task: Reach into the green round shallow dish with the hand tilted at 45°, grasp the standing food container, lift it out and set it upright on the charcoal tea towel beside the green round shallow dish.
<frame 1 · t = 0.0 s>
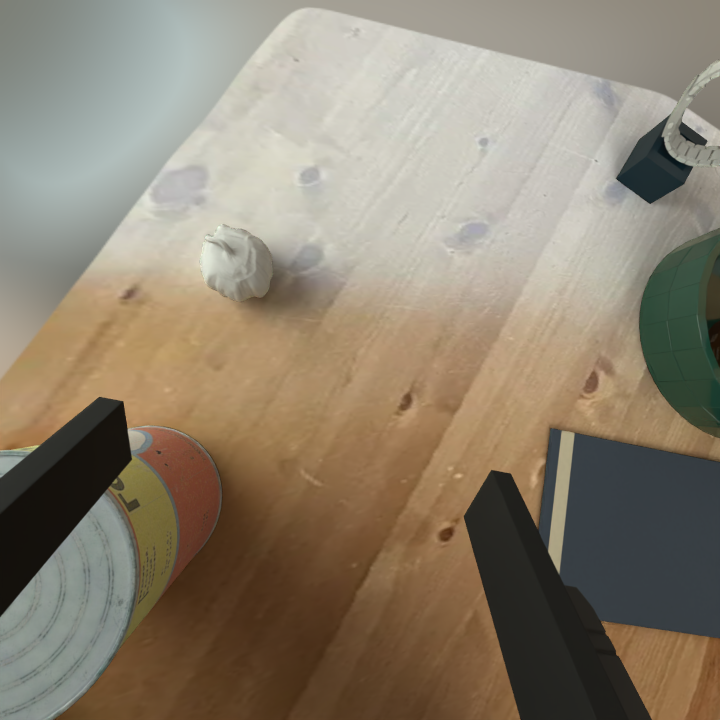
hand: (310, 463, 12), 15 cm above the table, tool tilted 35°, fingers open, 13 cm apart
canned food: (146, 499, 25), on the table
garlic: (244, 276, 28), on the table
towel: (644, 533, 29), on the table
watch: (643, 172, 34), on the table
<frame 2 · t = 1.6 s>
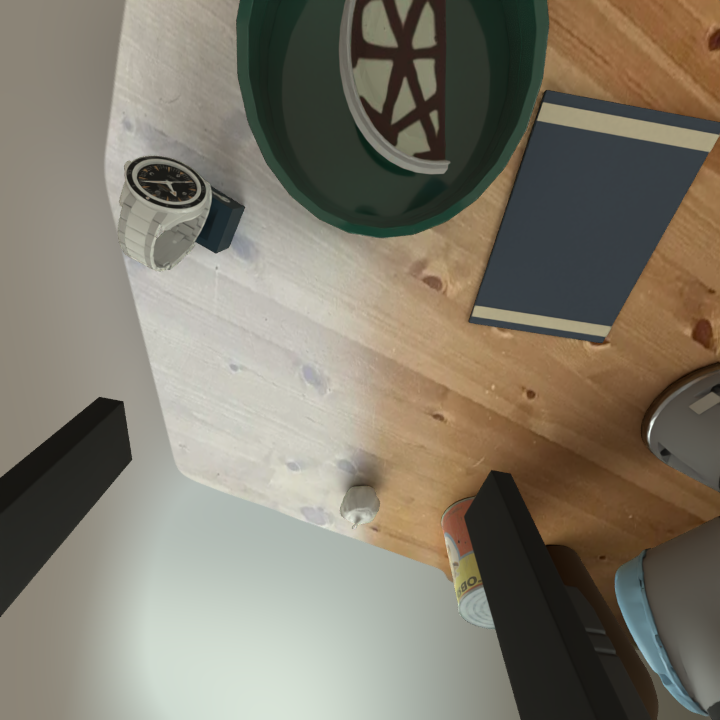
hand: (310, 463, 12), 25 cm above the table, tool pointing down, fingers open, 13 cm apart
canned food: (477, 519, 52), on the table
garlic: (360, 491, 50), on the table
towel: (576, 236, 31), on the table
green round shallow dish: (386, 94, 27), on the table
watch: (210, 210, 32), on the table
food container: (386, 93, 27), resting on green round shallow dish
olive oil: (547, 559, 56), on the table
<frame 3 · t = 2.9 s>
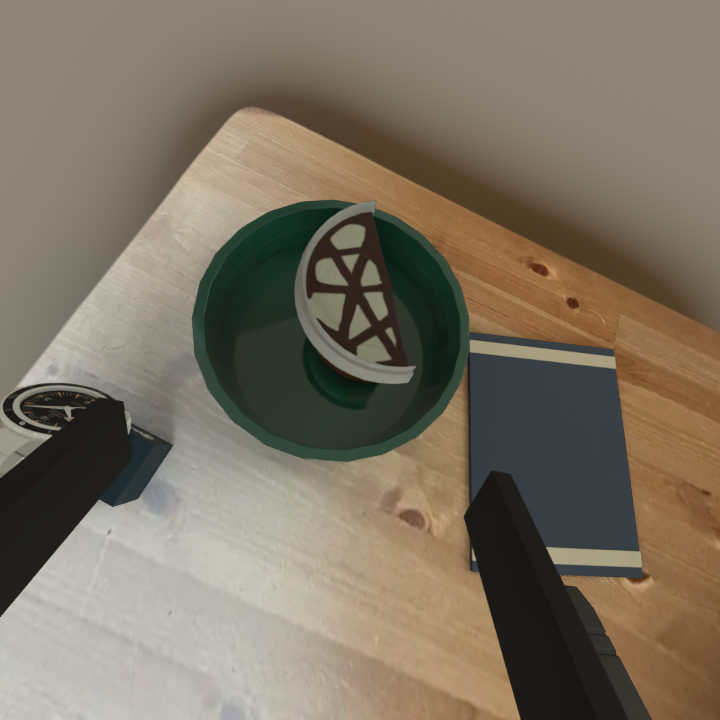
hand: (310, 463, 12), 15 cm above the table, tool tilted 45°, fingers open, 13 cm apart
towel: (548, 447, 30), on the table
green round shallow dish: (334, 338, 29), on the table
watch: (125, 452, 25), on the table
food container: (334, 337, 29), resting on green round shallow dish
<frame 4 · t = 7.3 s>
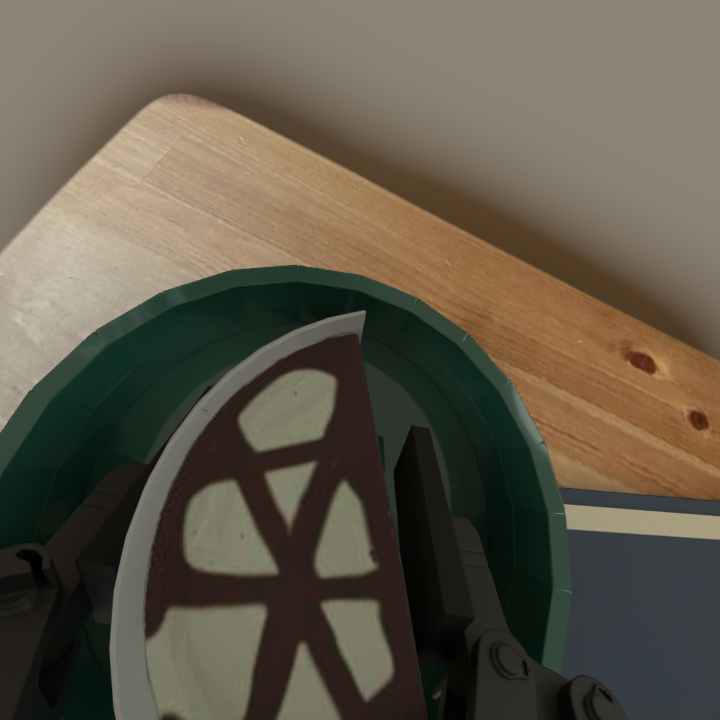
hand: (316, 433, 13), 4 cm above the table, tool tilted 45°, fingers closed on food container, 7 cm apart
towel: (687, 713, 16), on the table
green round shallow dish: (300, 508, 16), on the table
food container: (299, 509, 16), resting on green round shallow dish, touching gripper
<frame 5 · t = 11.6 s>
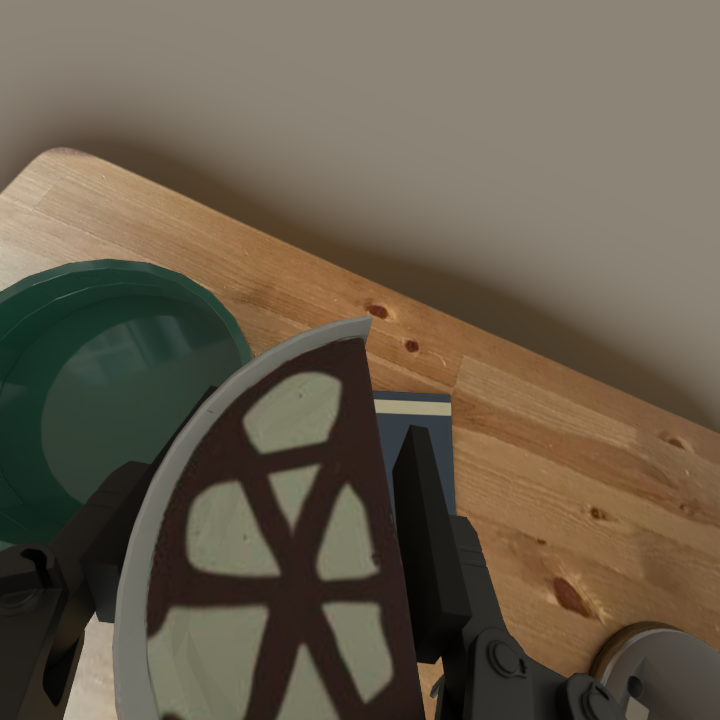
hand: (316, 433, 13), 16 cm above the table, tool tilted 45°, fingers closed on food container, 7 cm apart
towel: (370, 507, 28), on the table
green round shallow dish: (134, 403, 27), on the table
food container: (297, 510, 16), point 12 cm above the table, touching gripper
when the fingers open (4 cm above the table, at t = 16.4 s): food container stays where it is, resting on towel.
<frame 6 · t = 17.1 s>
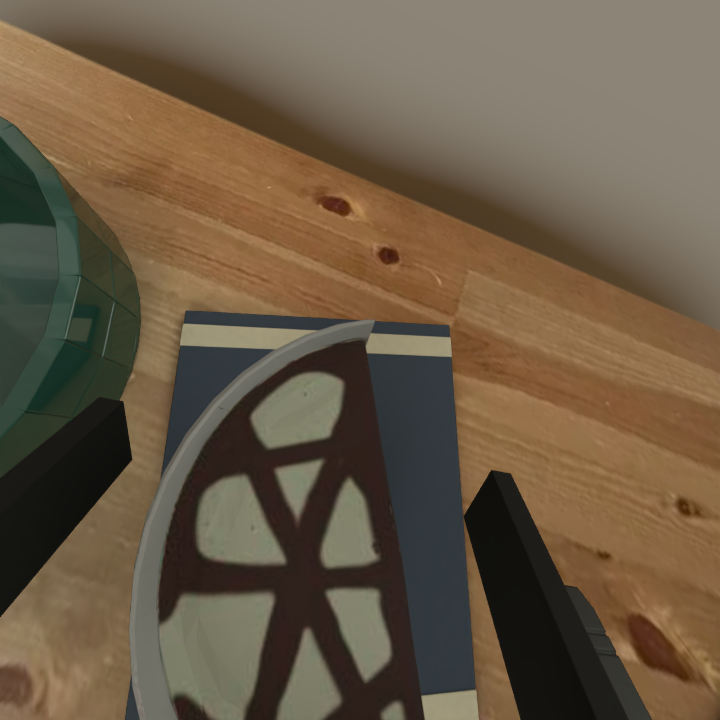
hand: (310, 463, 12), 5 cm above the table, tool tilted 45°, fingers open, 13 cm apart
towel: (318, 505, 17), on the table
food container: (292, 507, 16), resting on towel
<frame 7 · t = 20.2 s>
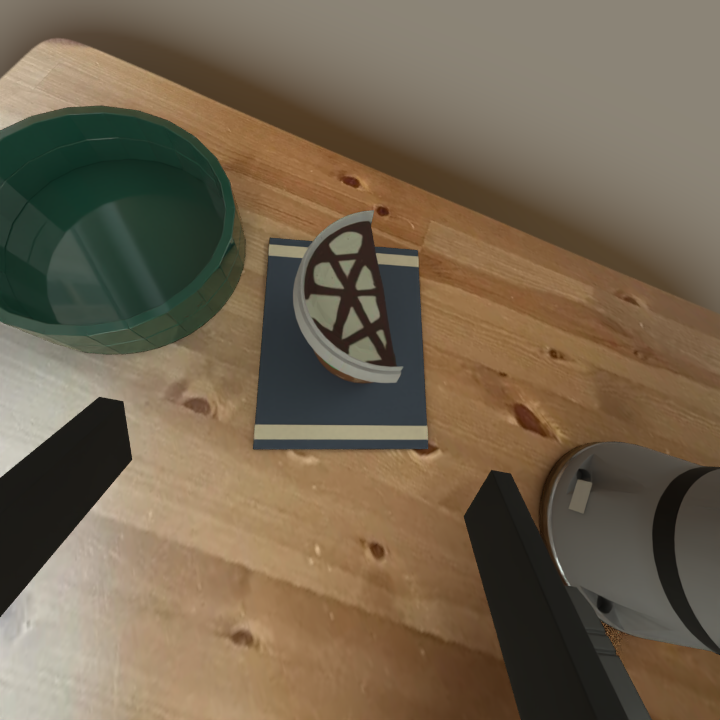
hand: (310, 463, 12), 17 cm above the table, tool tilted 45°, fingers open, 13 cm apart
towel: (344, 339, 31), on the table
green round shallow dish: (129, 247, 30), on the table
food container: (331, 338, 31), resting on towel
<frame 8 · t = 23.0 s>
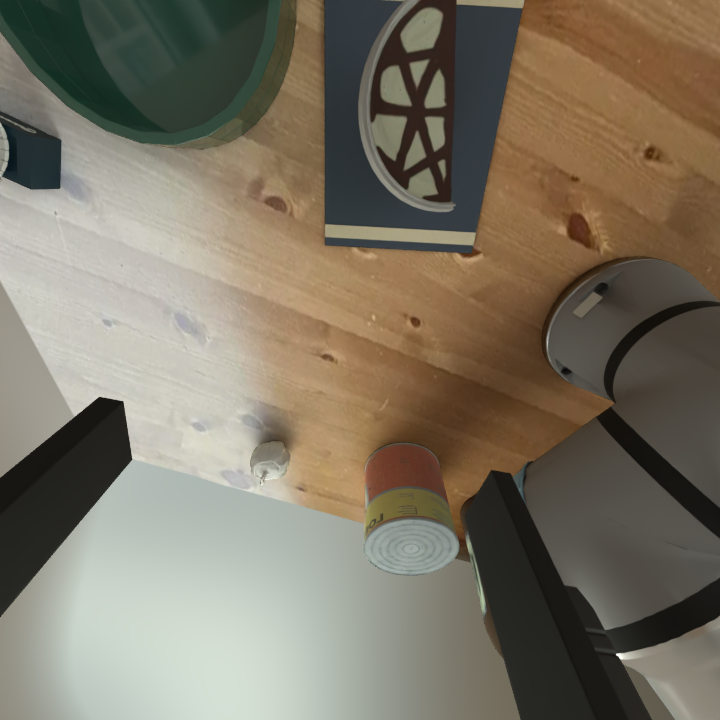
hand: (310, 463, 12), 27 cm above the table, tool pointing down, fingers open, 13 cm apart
canned food: (401, 469, 50), on the table
garlic: (274, 448, 48), on the table
towel: (410, 131, 29), on the table
watch: (29, 148, 31), on the table
food container: (395, 130, 29), resting on towel
olive oil: (488, 509, 54), on the table
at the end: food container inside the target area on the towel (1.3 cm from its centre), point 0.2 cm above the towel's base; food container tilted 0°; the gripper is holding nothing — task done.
